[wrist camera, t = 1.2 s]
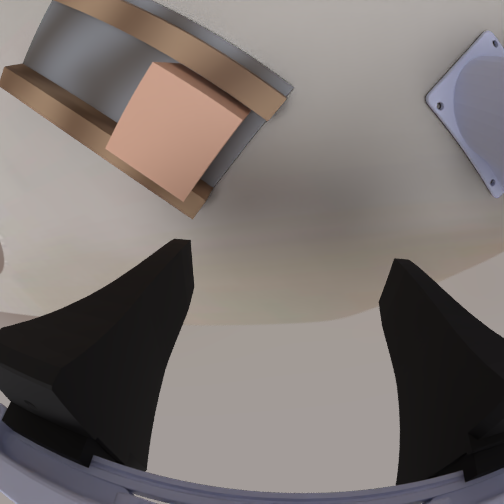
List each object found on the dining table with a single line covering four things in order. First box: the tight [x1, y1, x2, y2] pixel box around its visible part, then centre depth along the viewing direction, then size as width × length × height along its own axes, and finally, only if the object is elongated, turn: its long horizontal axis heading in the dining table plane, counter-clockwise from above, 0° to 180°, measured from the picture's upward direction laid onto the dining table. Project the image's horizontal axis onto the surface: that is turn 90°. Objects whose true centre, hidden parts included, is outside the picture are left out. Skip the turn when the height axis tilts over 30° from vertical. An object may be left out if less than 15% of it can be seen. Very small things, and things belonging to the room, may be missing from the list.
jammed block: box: [105, 62, 251, 202], centre depth 15 cm, size 5×5×4 cm
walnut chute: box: [0, 0, 294, 219], centre depth 14 cm, size 18×10×2 cm, turn 53°
